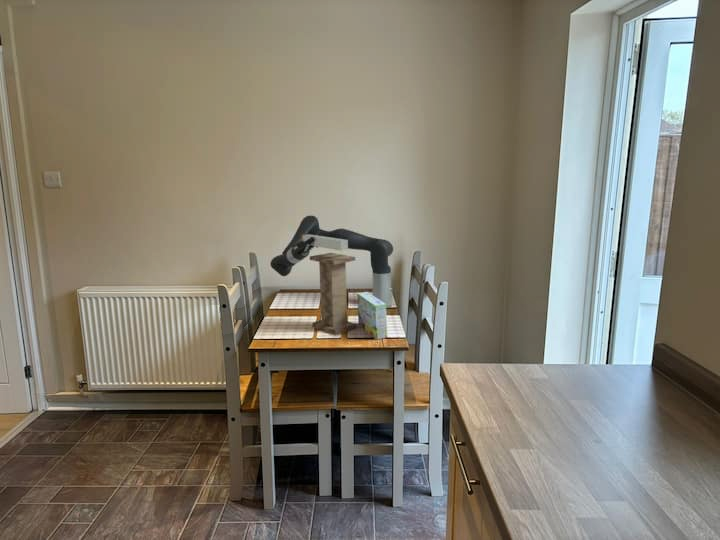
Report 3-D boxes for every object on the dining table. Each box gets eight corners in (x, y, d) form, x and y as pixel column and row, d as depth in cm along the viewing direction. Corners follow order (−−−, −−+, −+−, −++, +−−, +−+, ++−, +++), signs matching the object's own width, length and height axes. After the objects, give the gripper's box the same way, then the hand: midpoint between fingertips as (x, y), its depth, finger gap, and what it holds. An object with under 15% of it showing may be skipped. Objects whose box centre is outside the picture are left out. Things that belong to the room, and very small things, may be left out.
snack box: (357, 325, 217) (356, 292, 213) (368, 323, 219) (368, 291, 215) (375, 340, 197) (374, 305, 194) (387, 338, 199) (387, 303, 196)
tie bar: (302, 244, 217) (301, 235, 216) (309, 242, 220) (309, 234, 219) (340, 250, 199) (340, 241, 198) (348, 249, 202) (347, 239, 201)
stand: (312, 326, 215) (309, 256, 208) (332, 320, 223) (330, 252, 216) (336, 335, 204) (333, 261, 197) (356, 328, 212) (355, 256, 205)
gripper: (282, 247, 220) (301, 231, 208) (307, 243, 230) (326, 228, 217) (288, 262, 219) (307, 247, 206) (312, 258, 228) (332, 243, 216)
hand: (317, 237), depth 212 cm, fingers closed on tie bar, 4 cm apart
